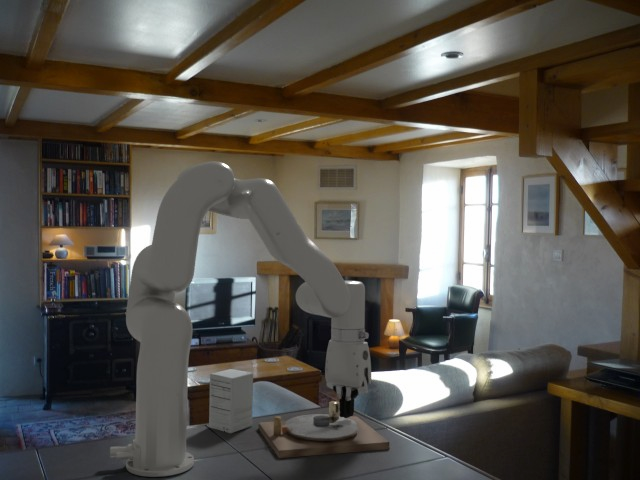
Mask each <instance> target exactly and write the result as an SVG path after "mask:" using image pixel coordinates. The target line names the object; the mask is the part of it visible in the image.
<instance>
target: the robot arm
mask: <svg viewBox="0 0 640 480" xmlns="http://www.w3.org/2000/svg"><path fill="white" fill-rule="evenodd" d="M159 204H160V205H159V207H158V211H157V216H156V220H155V225H154V230H153V236H152V240H151V241H152V242H151V244H150V245H148V246H146V247H144V248H143V249H142V250H141V251H140V252H139V253H138V254H137V256H136V258H135V260H134V262H133V265H132V270H131V277H130V282H129V289H128V295H127V303H126V313H125V324H126V327H127V330H128V332H129V334H130V335H131V336H132V338H134V339H135V340H136V341H137V342H139V343H140V344H139V345H140V346H139V352H138V358H137V365H136V391H135V392H136V395H135V396H136V397H135V400H136V401H135V432H134V433H135V435H134V437H135V438H133V440H132V442H133V443H128V444H127V445H125V446H121V445H119V446H117V445H116V446H110V448H109V458H116V461H121V460H122V461H123V460H126V462H125V467H126V470H127V471H128V472H129V473H130V474H132V475H133V474H134V475H135V476H141V477H145V478H146V477H149V478H158V477H159V478H160V477H161V478H162V477H169V476H175V475H179V474H182V473H185V472H186V471H189V470H190V469H191V468H192V467H193V466H194V465H195V457H194V455H193V454H192V453H190V452H188V451H187V427H188V426H187V425H188V424H187V422H188V381H189V380H188V379H189V377H188V374H189V359H190V357H189V356H190V351H191V345H192V339H193V330H194V329H193V322H192V319H191V316H190V314H189V313H188V311H187V310H186V309H185V308H184V307H183V305H181V304H179V303H177V302H175V296H176V294H178V293H181V292H183V291H185V290H186V289H187V288H189V286H190V285H191V284H192V282H193V279H194V276H195V269H196V268H195V267H196V261H197V253H198V252H197V251H198V246H199V245H198V243H199V236H200V231H201V227H202V223H203V220H204V219H205V216H206V215H207V213H208V212H210V213H215V214H219V215H220V216H221V215H222V216H225V217H230V218H236V219H240V220H249V221H250V223H251V225H252V226H253V228H254V230H255V231H256V233H257V234H258V236H259V238H260V239H261V241H262V242H263V244H264V246H265V247H266V249H267V251H268V253H269V254H270V256H271V257H273V258H274V259H275V260H276V261H277V262H279V263H280V264H282V265H284V266H285V267H287V268H289V269H290V270H291V271H293V272H295V273H296V274H297V275H298V276H299V277H300V278H301V279H302V280H303V281H304V282H303V283H302V284H300V285H299V287H298V288H297V290H296V292H295V301H296V304H297V306H298V307H299V308H300V309H301V310H302V311H304V312H306V313H308V314H311V315H315V316H321V317H325V318H330V319H331V322H330V327H331V329H330V333H331V334H330V337H331V338H330V340H329V341H328V345H327V349H326V355H325V356H326V357H325V364H324V365H325V367H324V371H325V372H324V375H325V376H324V377H325V381H326V384H325V385H326V387H327V388H328V389H331V390H333V391H334V392H335V394H336V398H337V399H338V402H339V416H340V417H344V418H348V417H351V416H354V412H355V399H357V397H358V396H360V395H365V394H366V393H369V385H371V383H372V362H371V355H370V347H369V345H368V344H369V342H367V341H365V339H369V336H370V334H369V332H366V329H365V317H366V315H365V314H366V313H365V312H366V288H365V287H366V286H365V284H364V283H363V282H362V281H360V280H359V281H358V280H344V277H343V276H342V275H341V273H340V271H339V269H338V268H337V266H336V265H335V264H334V262H333V261H332V260H331V259H330V257H328V255H327V254H326V253H325V252H324V251H323V250H322V249H321V248H320V247H318V246H317V244H316V243H315V242H314V241H313V240H311V239H310V238H309V236H307V235H306V233H305V232H304V230H303V229H302V226H301V225H300V224H299V222H298V221H297V219H296V217H295V215H294V214H293V211H292V210H291V208H290V206H289V204H288V203H287V201H286V199H285V197H284V196H283V195H282V193H281V190H279V188H278V187H277V186H276V183H274V182H273V181H272V180H270V179H268V178H261V177H258V178H250V179H239V178H235V174H234V172H233V169H232V168H231V167H230V166H229V165H227V164H226V163H224V162H221V161H215V160H213V161H212V160H211V161H205V162H202V163H198V164H196V165H193V166H192V165H190V166H189V167H187V168H184V169H183V170H182V171H181V172H180V173H179V174H178V176H177V178H176V180H175V181H174V182H173V183H172V185H170V187H169V188H168V189H167V191H166V193H165V194H164V196H163V197H162V199H161V202H160V203H159Z"/></svg>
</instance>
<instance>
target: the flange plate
mask: <svg viewBox="0 0 640 480" xmlns="http://www.w3.org/2000/svg"><path fill="white" fill-rule="evenodd" d="M285 421H286V423H285V425H284V426H282V427H281V431H282V433H288V434H289V435H291V436H294V437H297V438H301V439H306V440H313V441H335V440H342V439H346V438H350V437H352V436H354V435H356V433H357V432H358V425H357V423H356V422H355V421H353V420H352V419H349V418H344V417H340V411H339V400H338V401H336V400H331V401H329V402H328V414H326V413H325V414H322V413H312V414H310V413H309V414H301V415H298V416H294V417H291V418H289V419H288V420H285Z"/></svg>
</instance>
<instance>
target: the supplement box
mask: <svg viewBox="0 0 640 480" xmlns="http://www.w3.org/2000/svg"><path fill="white" fill-rule="evenodd" d="M253 393H254V372H251V371H250V372H249V371H244V370H240V369H239V370H238V369H234V368H229V369H224V370H220V371H217V372H212V373H211V372H210V373H209V402H208V403H209V406H208V407H209V409H208V410H209V411H208V412H209V415H208V419H209V420H208V427H209V428H211V429H213V430H217V431H220V432H224V431H225V432H224V433H228V432H229V433H228V434H234V433H235V432H239V431H241V430H244V429H247V428H251V427H253V404H254V403H253V401H254V400H253V399H254V397H253V396H254V394H253Z"/></svg>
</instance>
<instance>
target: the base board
mask: <svg viewBox="0 0 640 480" xmlns="http://www.w3.org/2000/svg"><path fill="white" fill-rule="evenodd" d="M348 418H349V419H352V420H353V421H355V422H356V423H357V425H358V432H357V433H356V435H354V436H352V437H350V438H346V439H342V440H335V441H313V440H306V439H301V438H297V437H294V436H291V435H289V434H288V433H282V431H281V427H282V426H284V425H285V423H286V421H287V420H282V416H278V415H276V416H274V417H273V421H261V422H258V430H259V432H260V433H261V434H262V436H263V437H264V439H265V440H266V442H267V444H268V445H269V447H270V448H271V449H272V450H273V451H274V453H275V454H276V456H277V457H278V459H281V458H282V459H283V458H297V457H308V456H320V455H321V456H323V455H333V454H334V455H335V454H342V453H343V454H344V453H346V454H347V453H355V452H357V453H358V452H370V451H379V450H380V451H381V450H382V451H383V450H390V441H389V440H388V439H386V438H385V437H384V436H382V435H381V434H380V433H378V432H377V431H376V430H375V429H373V428H372V427H371V426H370V425H369V424H367V423H366V422H364V421H363V420H362V419H361V418H359V417H358V416H357V415H356V416H355V415H353V416H351V417H348Z"/></svg>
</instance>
